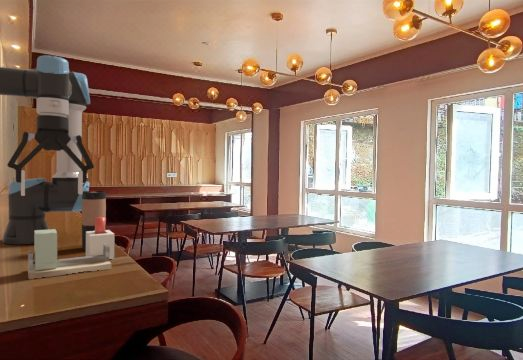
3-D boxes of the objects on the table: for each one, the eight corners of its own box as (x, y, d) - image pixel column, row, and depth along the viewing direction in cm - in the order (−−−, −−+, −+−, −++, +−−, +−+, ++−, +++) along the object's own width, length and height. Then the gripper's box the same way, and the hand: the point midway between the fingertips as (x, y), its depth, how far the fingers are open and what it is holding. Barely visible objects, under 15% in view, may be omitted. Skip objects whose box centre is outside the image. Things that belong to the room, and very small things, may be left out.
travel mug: (96, 251, 125) (96, 192, 124) (76, 250, 126) (76, 191, 126) (110, 246, 132) (110, 191, 132) (91, 245, 134) (91, 190, 133)
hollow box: (85, 256, 119) (85, 231, 119) (108, 253, 123) (109, 229, 122) (89, 262, 112) (90, 235, 112) (114, 259, 116) (114, 233, 116)
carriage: (34, 264, 102) (34, 230, 101) (55, 262, 104) (55, 228, 104) (35, 270, 97) (35, 234, 96) (57, 267, 99) (57, 232, 99)
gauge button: (94, 232, 118) (94, 217, 117) (104, 232, 119) (104, 216, 119) (95, 234, 115) (95, 218, 115) (106, 233, 117) (106, 218, 117)
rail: (27, 270, 102) (27, 249, 102) (105, 261, 113) (105, 242, 113) (28, 279, 95) (28, 256, 94) (111, 268, 106) (111, 248, 105)
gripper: (-5, 109, 89) (-5, 197, 90) (105, 119, 104) (104, 194, 104) (-4, 112, 95) (-4, 194, 96) (99, 121, 110) (98, 192, 111)
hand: (52, 194), depth 100 cm, fingers open, 13 cm apart
